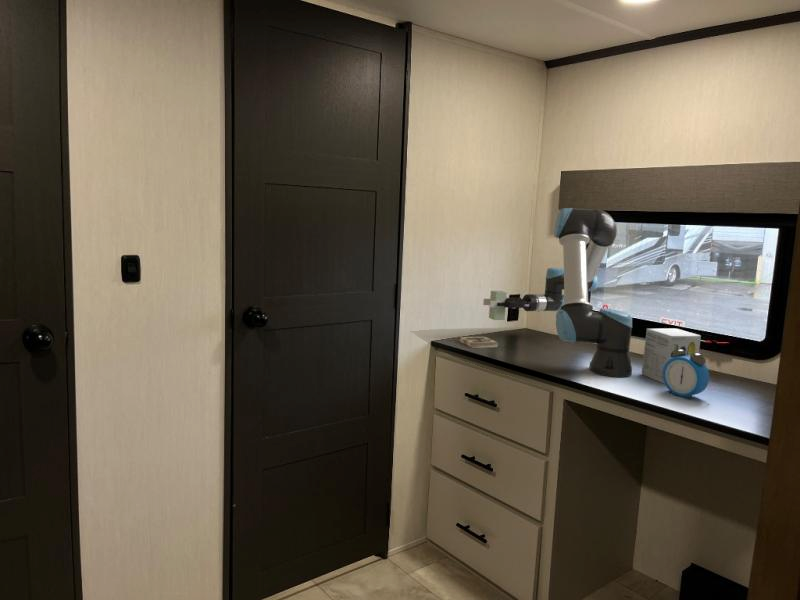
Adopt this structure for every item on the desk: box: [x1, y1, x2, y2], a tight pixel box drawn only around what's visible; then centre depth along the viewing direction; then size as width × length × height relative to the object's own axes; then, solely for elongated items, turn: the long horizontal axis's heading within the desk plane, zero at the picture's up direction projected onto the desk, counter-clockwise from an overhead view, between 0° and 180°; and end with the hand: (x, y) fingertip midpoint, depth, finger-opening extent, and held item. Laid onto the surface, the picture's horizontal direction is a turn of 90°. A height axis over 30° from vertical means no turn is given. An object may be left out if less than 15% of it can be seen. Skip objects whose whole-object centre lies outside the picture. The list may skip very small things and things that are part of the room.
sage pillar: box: [488, 290, 508, 321], centre depth 264 cm, size 5×5×12 cm
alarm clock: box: [663, 349, 710, 400], centre depth 200 cm, size 13×6×15 cm, turn 35°
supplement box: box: [641, 327, 702, 385], centre depth 220 cm, size 13×13×18 cm
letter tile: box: [459, 336, 498, 349], centre depth 262 cm, size 12×12×2 cm
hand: (486, 303), depth 262 cm, fingers closed on sage pillar, 5 cm apart
